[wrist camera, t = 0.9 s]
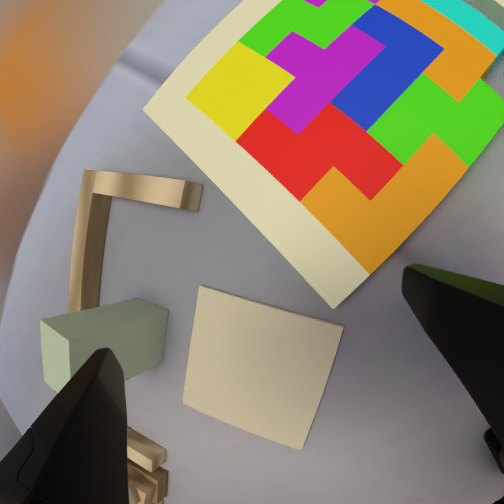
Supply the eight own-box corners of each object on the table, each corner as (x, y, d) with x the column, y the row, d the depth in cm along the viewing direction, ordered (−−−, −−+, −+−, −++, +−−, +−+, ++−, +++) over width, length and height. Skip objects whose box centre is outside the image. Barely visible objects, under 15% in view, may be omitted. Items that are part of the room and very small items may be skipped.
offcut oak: (156, 484, 25) (145, 494, 23) (152, 500, 26) (142, 509, 24) (114, 453, 27) (103, 461, 25) (113, 471, 28) (102, 478, 26)
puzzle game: (163, 120, 26) (415, 387, 19) (142, 109, 23) (420, 407, 16) (367, -64, 17) (609, 126, 10) (363, -83, 14) (625, 117, 8)
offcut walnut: (170, 469, 28) (157, 480, 25) (168, 493, 28) (157, 504, 26) (122, 440, 30) (108, 449, 28) (123, 465, 31) (111, 474, 28)
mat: (344, 325, 20) (343, 327, 20) (302, 447, 22) (301, 450, 21) (202, 284, 24) (199, 285, 24) (184, 401, 25) (182, 403, 25)
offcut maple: (134, 482, 24) (122, 492, 22) (140, 500, 24) (130, 509, 22) (105, 468, 25) (93, 476, 24) (112, 486, 26) (101, 494, 24)
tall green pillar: (168, 310, 26) (68, 340, 16) (162, 361, 26) (72, 406, 16) (138, 297, 27) (40, 319, 17) (133, 347, 27) (44, 381, 18)
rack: (202, 185, 24) (185, 180, 22) (162, 507, 28) (151, 517, 26) (103, 173, 28) (84, 169, 26) (94, 461, 32) (82, 468, 30)
